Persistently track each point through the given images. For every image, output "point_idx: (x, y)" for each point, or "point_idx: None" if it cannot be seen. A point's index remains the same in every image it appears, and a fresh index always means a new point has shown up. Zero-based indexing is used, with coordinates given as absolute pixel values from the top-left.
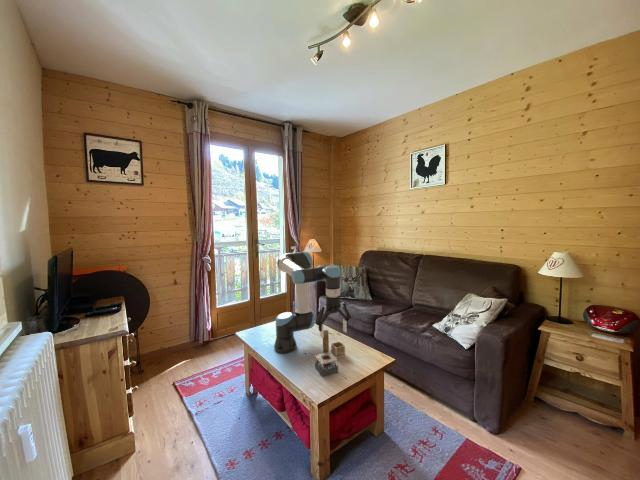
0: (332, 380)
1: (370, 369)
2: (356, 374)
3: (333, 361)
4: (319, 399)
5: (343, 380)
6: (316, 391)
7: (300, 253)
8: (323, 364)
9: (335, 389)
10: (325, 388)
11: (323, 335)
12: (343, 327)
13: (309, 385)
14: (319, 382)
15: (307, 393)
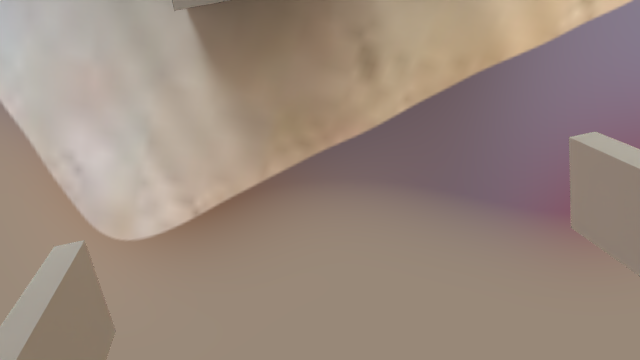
0: (262, 65)
1: (588, 5)
2: (462, 39)
3: None
4: (128, 239)
5: (343, 86)
6: (117, 160)
7: None
8: (195, 6)
9: (257, 169)
10: (189, 143)
11: (104, 357)
12: (615, 181)
13: (69, 80)
14: (155, 63)
15: (47, 166)
